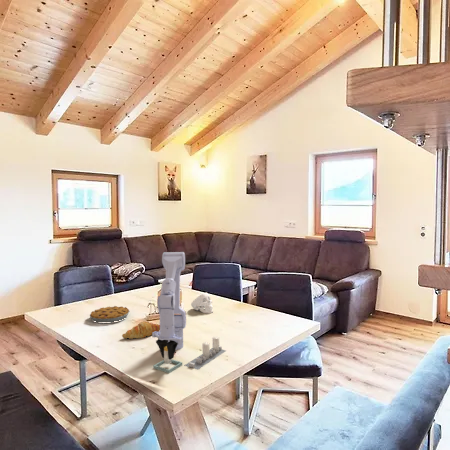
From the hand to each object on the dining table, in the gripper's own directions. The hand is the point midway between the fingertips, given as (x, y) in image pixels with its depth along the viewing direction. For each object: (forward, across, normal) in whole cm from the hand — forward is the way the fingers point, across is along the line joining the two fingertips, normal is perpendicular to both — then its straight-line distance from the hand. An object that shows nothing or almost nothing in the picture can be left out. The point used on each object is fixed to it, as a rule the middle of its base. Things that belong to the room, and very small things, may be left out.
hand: (167, 357), depth 145 cm
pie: (+5, -72, +31) cm, 78 cm away
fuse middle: (+4, +8, +14) cm, 17 cm away
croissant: (+5, -36, +22) cm, 42 cm away
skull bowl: (+5, -34, +70) cm, 78 cm away
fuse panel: (+4, +8, +14) cm, 17 cm away
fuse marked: (+2, 0, 0) cm, 2 cm away
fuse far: (+4, +8, +22) cm, 24 cm away
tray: (+4, 0, 0) cm, 4 cm away
